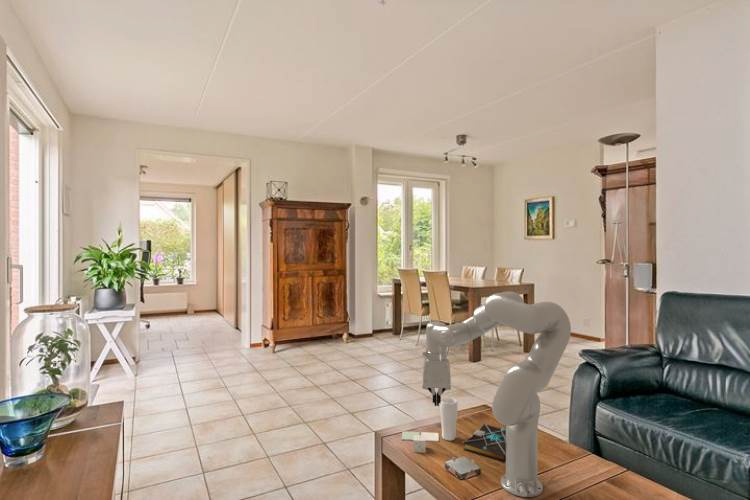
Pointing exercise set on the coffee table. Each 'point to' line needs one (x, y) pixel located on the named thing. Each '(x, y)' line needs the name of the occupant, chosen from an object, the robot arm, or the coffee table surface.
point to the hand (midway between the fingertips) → (436, 404)
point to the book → (488, 442)
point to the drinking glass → (448, 418)
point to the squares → (429, 436)
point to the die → (419, 443)
